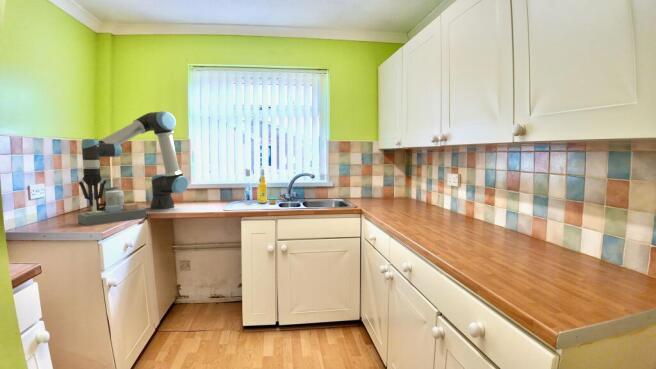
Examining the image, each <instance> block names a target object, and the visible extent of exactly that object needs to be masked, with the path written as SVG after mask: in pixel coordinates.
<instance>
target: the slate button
mask: <svg viewBox="0 0 656 369" xmlns="http://www.w3.org/2000/svg"><path fill="white" fill-rule="evenodd" d="M104 211H105V212H107V213H112V212H120V211H121V206H119V205H112V206H105V210H104Z"/></svg>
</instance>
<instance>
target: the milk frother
mask: <svg viewBox="0 0 656 369" xmlns="http://www.w3.org/2000/svg"><path fill="white" fill-rule="evenodd" d="M107 191H119V187H116V186H115V187H111V186H110V187H104V190H103V195H102V197H103V203H98V205H96V207H97V211H101V210H103V211H105V206H106V198H105V192H107ZM101 206H102V207H101Z"/></svg>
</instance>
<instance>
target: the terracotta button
mask: <svg viewBox="0 0 656 369" xmlns="http://www.w3.org/2000/svg"><path fill="white" fill-rule="evenodd" d="M122 206H123V210H125V211H128V210H137V209H138V208H139V206H138V203H135V202H132V203H124V204H122Z"/></svg>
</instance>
